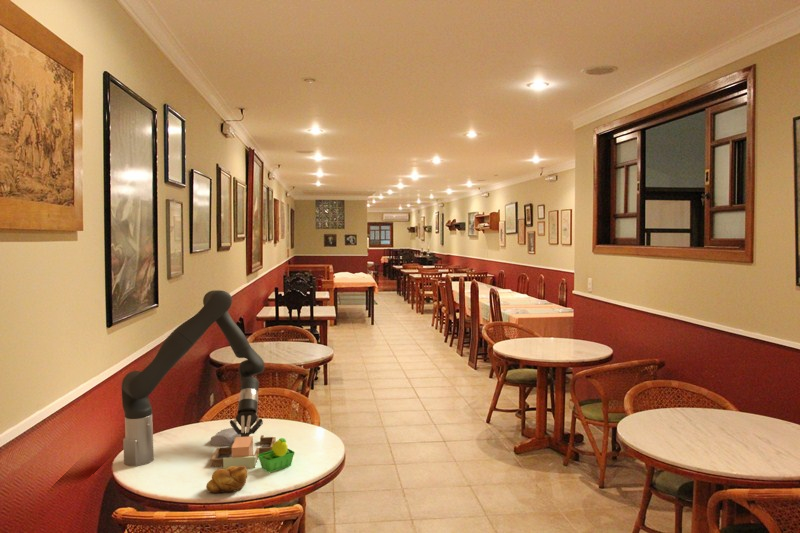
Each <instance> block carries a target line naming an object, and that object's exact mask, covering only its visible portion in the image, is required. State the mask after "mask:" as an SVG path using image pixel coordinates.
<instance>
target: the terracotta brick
mask: <svg viewBox="0 0 800 533" xmlns="http://www.w3.org/2000/svg"><path fill="white" fill-rule="evenodd" d="M231 446H232V445H231ZM246 456H254V436H253V435H252V436H250V435H249V436H248V437H236V439H235V441H234V444H233V446H232V454H231V457H246Z"/></svg>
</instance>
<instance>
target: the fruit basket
mask: <svg viewBox="0 0 800 533" xmlns="http://www.w3.org/2000/svg"><path fill="white" fill-rule="evenodd" d="M294 456H295V451H294V450H292V449H290V448H288V444H287V440H286V438H283V437H281V438H279V439H277V441H276V442H275V443H274V444H273V445H272V451H268V452H265V453H262V454H259V455H258V460H259V464H260V466H261V469H262V470H264V471H266V472H268V473H269V472H270V473H273V472H277V471H278V470H283V469H285V468H287V467H291V466H292V464H293V457H294Z"/></svg>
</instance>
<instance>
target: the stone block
mask: <svg viewBox="0 0 800 533" xmlns="http://www.w3.org/2000/svg"><path fill="white" fill-rule="evenodd" d="M239 429H240V430H241V428H239ZM235 437H241V435H240V434H237V433H236V431H235V430H234V429H233V427H229V428H224V429H221V430H220V431H218V432H217V433H216V434H215V435H213V436H211V437H210V443H211V445H213V446H214V445H215V446H232V443H233V441H234V439H235Z"/></svg>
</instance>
